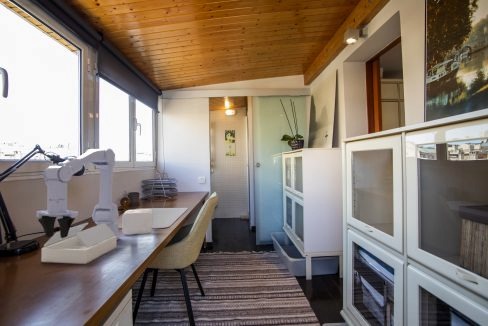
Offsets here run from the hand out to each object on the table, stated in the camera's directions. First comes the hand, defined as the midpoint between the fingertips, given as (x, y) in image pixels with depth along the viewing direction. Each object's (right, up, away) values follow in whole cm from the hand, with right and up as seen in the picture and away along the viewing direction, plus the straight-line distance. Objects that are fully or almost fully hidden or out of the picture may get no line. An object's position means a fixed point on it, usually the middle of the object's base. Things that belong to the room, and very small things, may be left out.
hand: (56, 237), depth 88 cm
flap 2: (+7, -2, +11) cm, 14 cm away
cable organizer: (+10, -11, +45) cm, 47 cm away
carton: (+1, -11, +12) cm, 16 cm away
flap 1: (-5, -2, +13) cm, 14 cm away
